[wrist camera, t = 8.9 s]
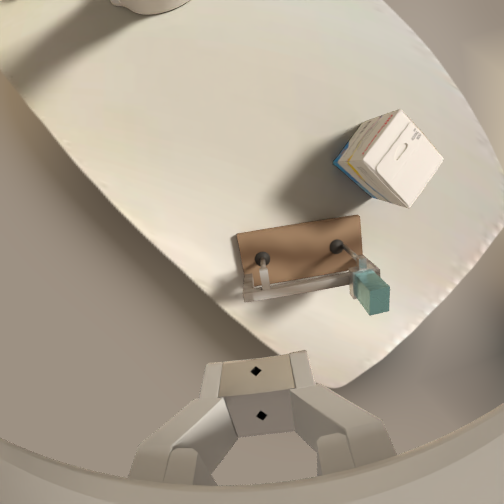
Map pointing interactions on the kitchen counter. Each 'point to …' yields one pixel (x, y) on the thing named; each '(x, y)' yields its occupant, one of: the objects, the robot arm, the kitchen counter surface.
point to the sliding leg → (367, 285)
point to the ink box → (390, 158)
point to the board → (299, 257)
